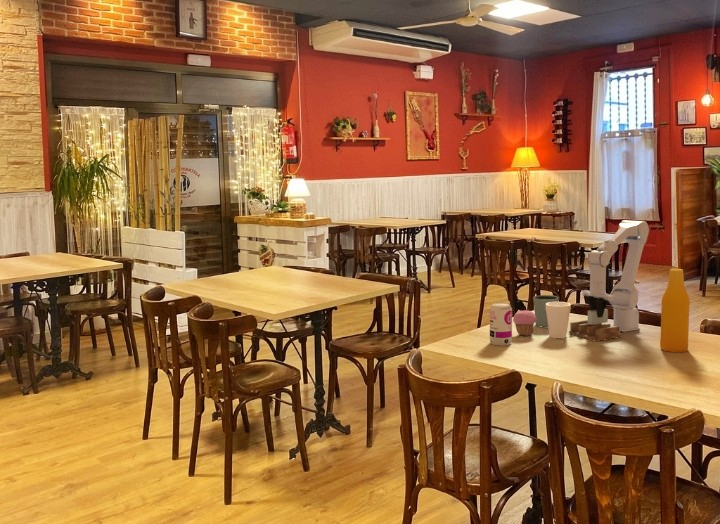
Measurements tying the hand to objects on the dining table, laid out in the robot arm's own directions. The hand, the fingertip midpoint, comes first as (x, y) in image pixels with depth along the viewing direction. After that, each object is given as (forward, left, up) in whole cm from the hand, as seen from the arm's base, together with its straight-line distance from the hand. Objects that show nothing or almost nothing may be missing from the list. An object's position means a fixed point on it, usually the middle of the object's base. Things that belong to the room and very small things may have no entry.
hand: (597, 316), depth 280 cm
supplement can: (+38, -10, -8) cm, 40 cm away
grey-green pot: (+4, -25, -8) cm, 27 cm away
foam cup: (+13, -7, -8) cm, 17 cm away
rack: (0, -1, -8) cm, 8 cm away
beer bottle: (-9, +29, -8) cm, 31 cm away
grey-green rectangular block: (0, 0, -2) cm, 3 cm away
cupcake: (+22, -16, -8) cm, 29 cm away
